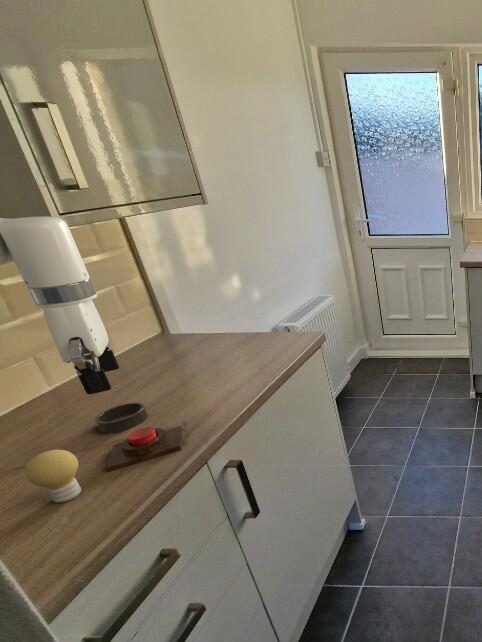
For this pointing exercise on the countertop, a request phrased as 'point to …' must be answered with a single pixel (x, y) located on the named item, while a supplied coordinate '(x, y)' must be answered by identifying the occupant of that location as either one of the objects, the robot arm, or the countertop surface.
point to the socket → (122, 424)
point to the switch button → (142, 436)
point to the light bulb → (55, 474)
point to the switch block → (145, 449)
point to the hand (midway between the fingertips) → (104, 380)
